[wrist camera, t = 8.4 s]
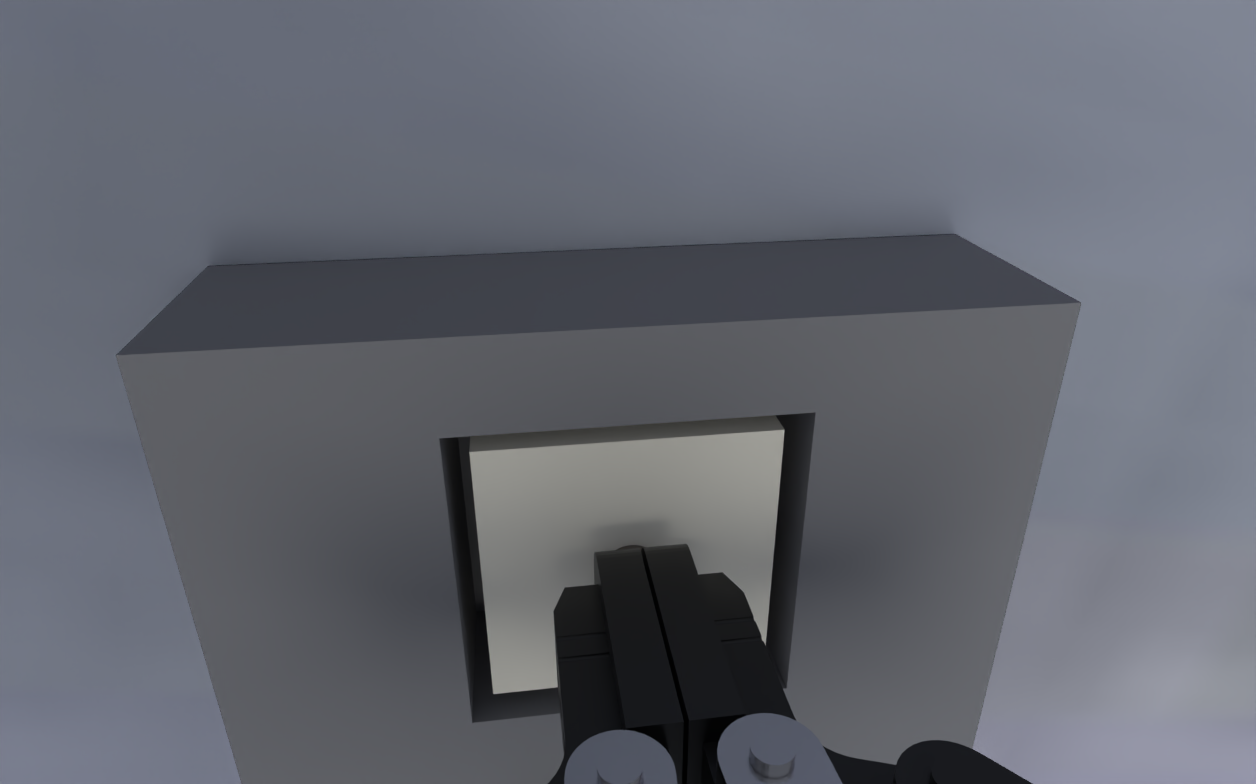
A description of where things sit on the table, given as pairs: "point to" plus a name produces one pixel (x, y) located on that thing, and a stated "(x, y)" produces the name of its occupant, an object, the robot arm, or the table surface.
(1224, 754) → the table surface
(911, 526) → the button board
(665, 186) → the table surface
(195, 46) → the table surface
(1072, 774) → the table surface
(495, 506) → the one dot tile
